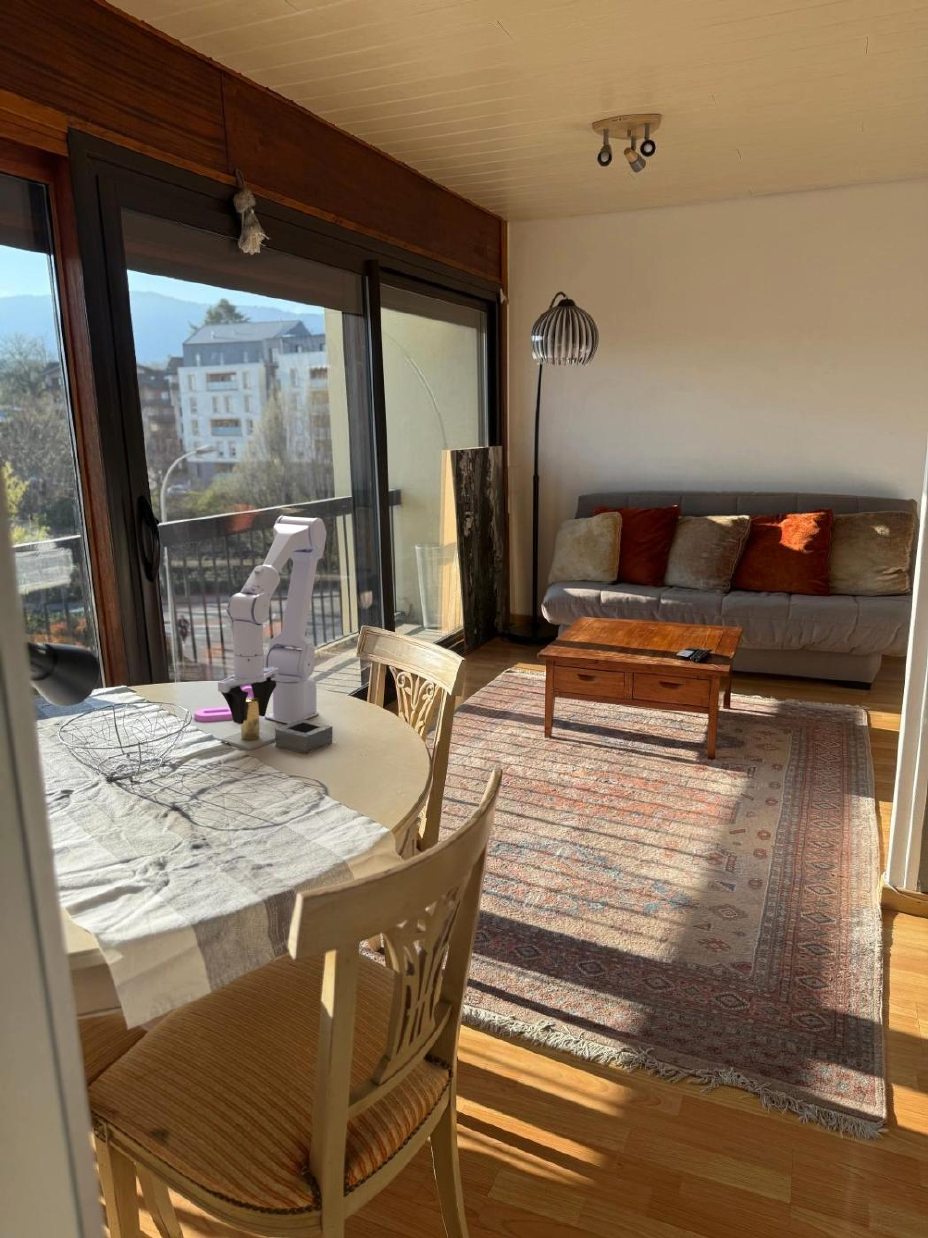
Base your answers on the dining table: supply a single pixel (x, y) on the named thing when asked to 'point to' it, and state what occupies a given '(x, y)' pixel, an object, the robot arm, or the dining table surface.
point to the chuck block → (303, 736)
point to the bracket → (219, 710)
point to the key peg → (251, 720)
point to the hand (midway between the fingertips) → (249, 719)
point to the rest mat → (249, 745)
